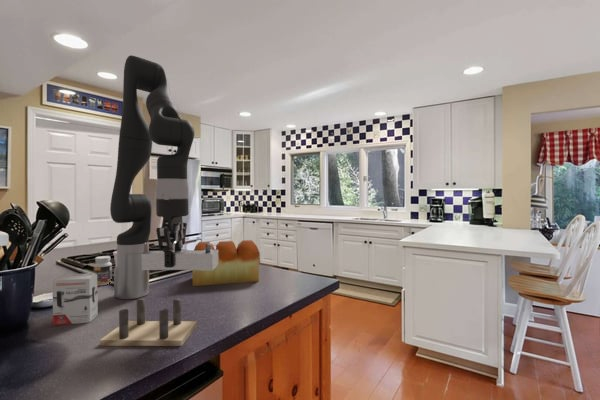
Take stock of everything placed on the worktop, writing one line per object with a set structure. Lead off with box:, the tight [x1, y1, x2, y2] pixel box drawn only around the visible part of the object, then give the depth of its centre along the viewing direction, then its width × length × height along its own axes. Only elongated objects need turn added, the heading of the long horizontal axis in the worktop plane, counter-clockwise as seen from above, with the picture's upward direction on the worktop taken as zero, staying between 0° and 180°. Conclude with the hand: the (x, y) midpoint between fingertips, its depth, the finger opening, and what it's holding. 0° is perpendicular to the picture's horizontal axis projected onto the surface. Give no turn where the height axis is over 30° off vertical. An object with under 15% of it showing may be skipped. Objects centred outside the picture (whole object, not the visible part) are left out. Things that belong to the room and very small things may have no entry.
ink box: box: [51, 272, 99, 326], centre depth 79 cm, size 8×5×12 cm, turn 103°
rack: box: [99, 297, 198, 347], centre depth 71 cm, size 18×10×7 cm, turn 90°
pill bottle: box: [93, 255, 113, 287], centre depth 111 cm, size 6×6×10 cm
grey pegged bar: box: [141, 243, 218, 271], centre depth 76 cm, size 18×6×6 cm, turn 92°
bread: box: [191, 239, 261, 287], centre depth 118 cm, size 25×12×15 cm, turn 105°
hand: (173, 264), depth 76 cm, fingers closed on grey pegged bar, 4 cm apart
